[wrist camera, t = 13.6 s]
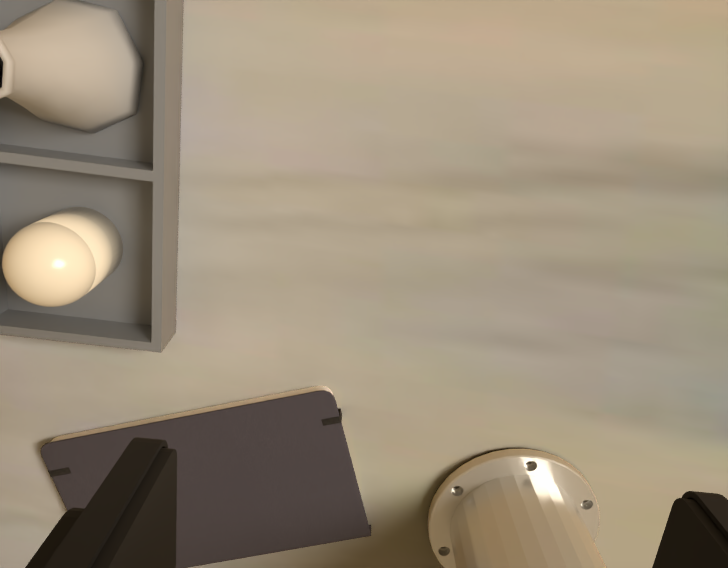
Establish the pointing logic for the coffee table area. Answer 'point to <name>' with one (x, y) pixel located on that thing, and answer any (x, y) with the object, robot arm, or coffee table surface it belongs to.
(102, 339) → the tray
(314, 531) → the notebook
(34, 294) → the cream egg
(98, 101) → the flask
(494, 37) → the coffee table surface
